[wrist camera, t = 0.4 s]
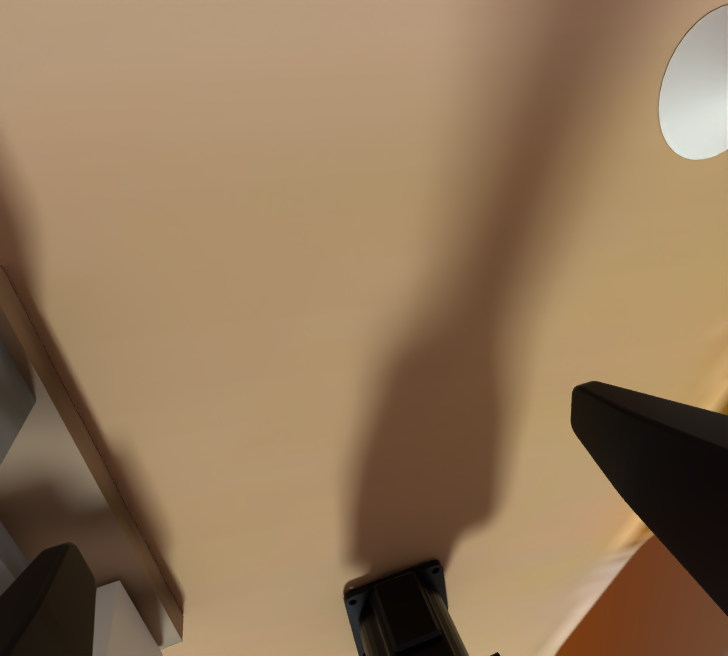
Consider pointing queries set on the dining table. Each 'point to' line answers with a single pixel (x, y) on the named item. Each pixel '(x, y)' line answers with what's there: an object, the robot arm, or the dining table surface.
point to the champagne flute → (698, 90)
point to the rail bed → (64, 481)
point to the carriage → (120, 625)
